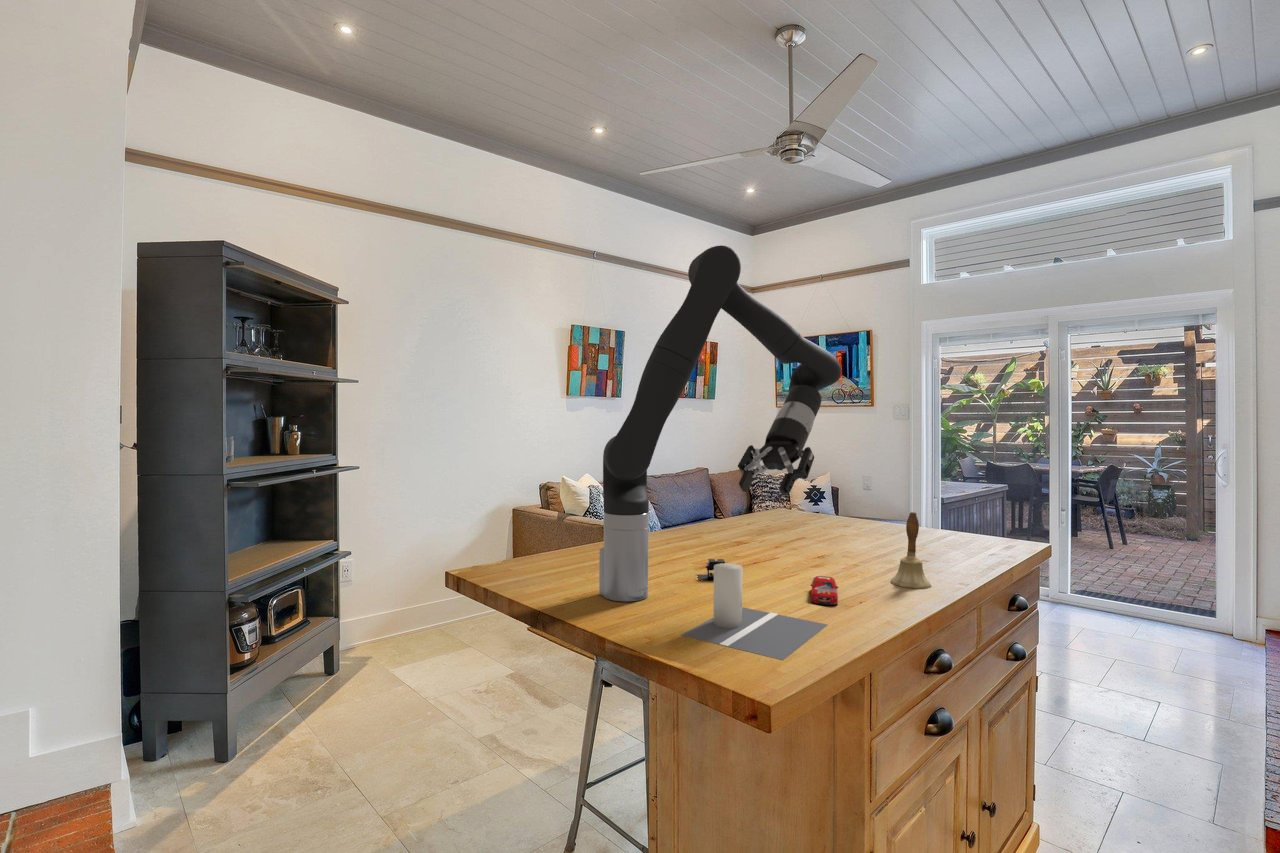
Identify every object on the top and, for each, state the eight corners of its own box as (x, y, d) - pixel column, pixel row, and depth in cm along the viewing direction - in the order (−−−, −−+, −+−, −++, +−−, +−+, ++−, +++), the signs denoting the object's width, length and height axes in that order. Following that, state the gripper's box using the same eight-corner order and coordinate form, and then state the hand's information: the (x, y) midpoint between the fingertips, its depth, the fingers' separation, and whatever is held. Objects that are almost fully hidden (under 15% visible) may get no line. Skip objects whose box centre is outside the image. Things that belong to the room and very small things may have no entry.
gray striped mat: (680, 637, 104) (680, 634, 104) (735, 608, 120) (735, 605, 120) (783, 663, 93) (783, 659, 93) (828, 627, 110) (828, 624, 110)
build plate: (741, 576, 147) (741, 557, 146) (745, 585, 139) (746, 564, 139) (688, 576, 147) (688, 556, 147) (690, 584, 139) (690, 563, 139)
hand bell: (917, 578, 144) (918, 509, 144) (939, 588, 136) (940, 515, 135) (883, 579, 143) (884, 510, 142) (903, 589, 134) (904, 515, 134)
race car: (838, 609, 121) (838, 589, 121) (809, 606, 123) (809, 586, 123) (838, 591, 134) (838, 572, 134) (811, 589, 135) (812, 570, 135)
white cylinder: (708, 624, 109) (708, 567, 109) (721, 616, 113) (722, 562, 113) (733, 630, 106) (734, 571, 106) (746, 622, 110) (747, 566, 110)
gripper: (753, 416, 129) (722, 476, 121) (817, 415, 120) (789, 480, 112) (766, 440, 133) (737, 500, 125) (829, 442, 124) (803, 506, 116)
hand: (762, 490), depth 118 cm, fingers open, 8 cm apart
